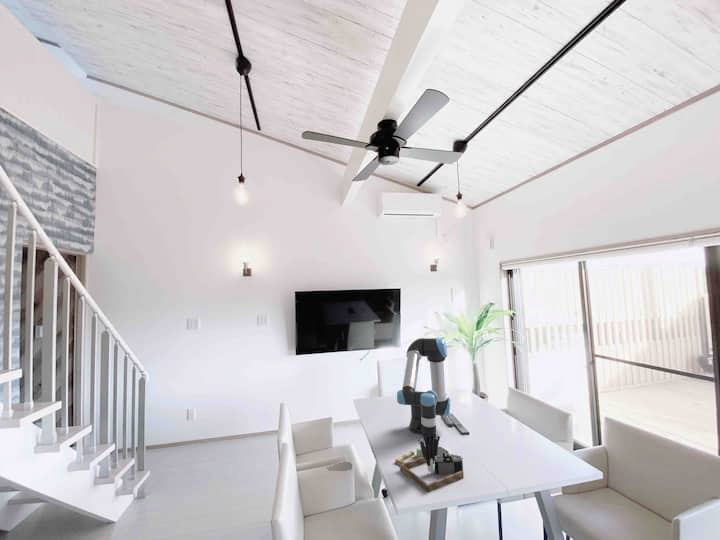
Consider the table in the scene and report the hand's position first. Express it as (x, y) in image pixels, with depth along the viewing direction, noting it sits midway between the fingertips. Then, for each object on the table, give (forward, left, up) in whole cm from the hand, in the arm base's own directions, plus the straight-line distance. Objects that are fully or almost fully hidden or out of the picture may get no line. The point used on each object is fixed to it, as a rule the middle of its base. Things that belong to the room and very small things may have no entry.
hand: (430, 471), depth 172 cm
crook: (+1, -17, -2) cm, 17 cm away
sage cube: (-8, -16, -2) cm, 18 cm away
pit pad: (-20, -16, -2) cm, 26 cm away
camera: (-10, +2, -2) cm, 10 cm away
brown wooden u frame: (0, 0, -2) cm, 2 cm away
